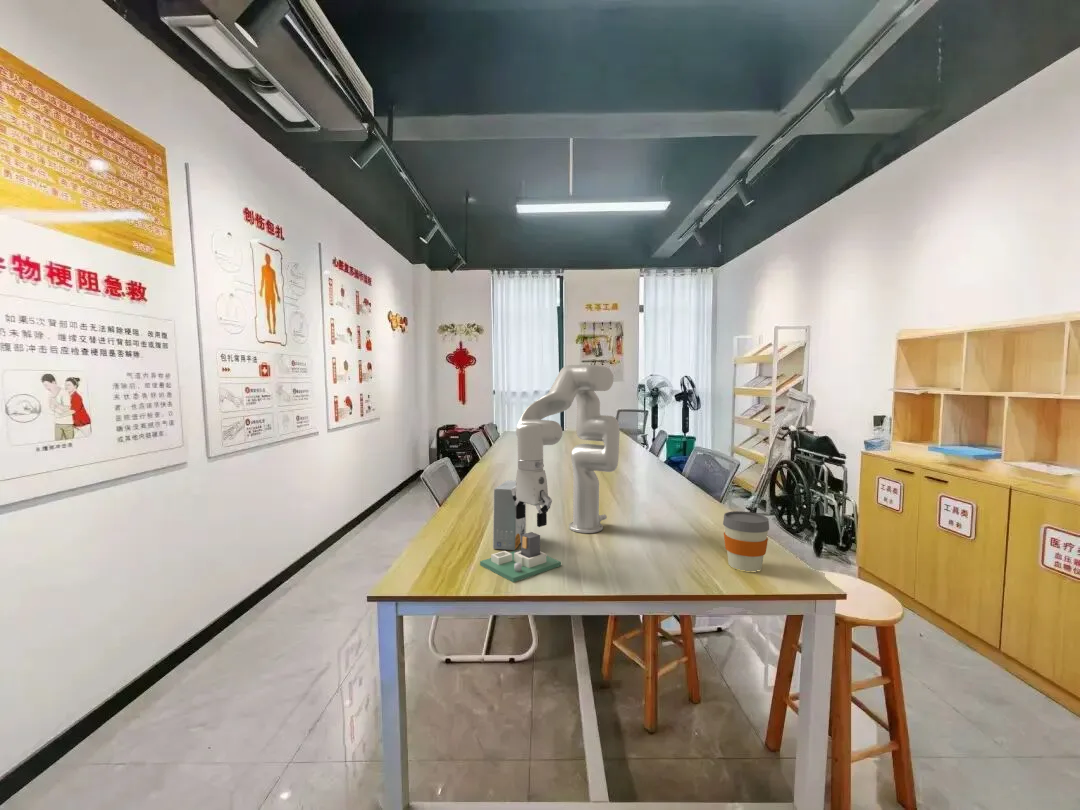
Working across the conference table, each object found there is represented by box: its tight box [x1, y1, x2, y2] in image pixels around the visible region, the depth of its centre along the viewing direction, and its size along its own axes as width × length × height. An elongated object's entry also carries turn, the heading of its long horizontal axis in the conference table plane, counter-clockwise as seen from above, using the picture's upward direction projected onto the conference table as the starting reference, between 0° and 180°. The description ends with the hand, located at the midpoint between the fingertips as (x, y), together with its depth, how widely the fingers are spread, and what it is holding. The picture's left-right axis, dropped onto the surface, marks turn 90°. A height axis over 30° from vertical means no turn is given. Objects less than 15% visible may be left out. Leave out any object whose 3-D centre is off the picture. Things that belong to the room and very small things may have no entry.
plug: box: [520, 531, 541, 558], centre depth 139 cm, size 4×4×8 cm
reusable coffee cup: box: [722, 510, 770, 571], centre depth 139 cm, size 13×13×15 cm
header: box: [514, 551, 547, 568], centre depth 139 cm, size 7×7×2 cm
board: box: [479, 548, 562, 583], centre depth 140 cm, size 18×16×3 cm
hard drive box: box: [492, 479, 527, 551], centre depth 160 cm, size 16×8×20 cm, turn 168°
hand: (531, 521), depth 139 cm, fingers open, 9 cm apart
